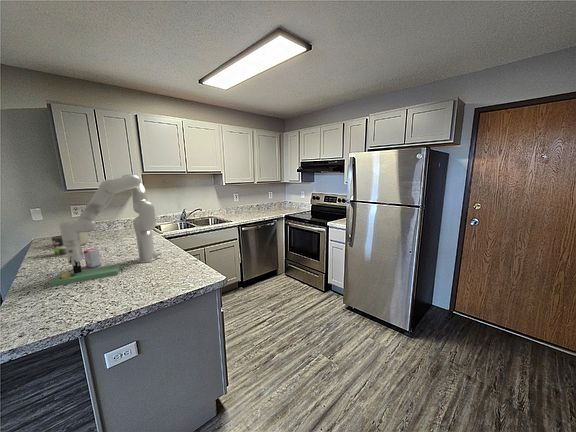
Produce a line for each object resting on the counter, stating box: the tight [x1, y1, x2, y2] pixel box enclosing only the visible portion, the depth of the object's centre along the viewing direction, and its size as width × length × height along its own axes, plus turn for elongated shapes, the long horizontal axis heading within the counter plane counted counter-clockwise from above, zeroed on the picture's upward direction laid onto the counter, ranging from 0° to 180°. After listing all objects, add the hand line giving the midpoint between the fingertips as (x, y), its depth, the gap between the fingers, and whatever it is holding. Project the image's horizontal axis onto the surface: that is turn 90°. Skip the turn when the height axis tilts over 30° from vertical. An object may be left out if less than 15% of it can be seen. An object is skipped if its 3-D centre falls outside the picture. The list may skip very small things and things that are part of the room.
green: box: [49, 263, 121, 287], centre depth 141 cm, size 30×12×2 cm, turn 119°
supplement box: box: [83, 248, 102, 269], centre depth 156 cm, size 6×6×12 cm
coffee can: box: [50, 235, 67, 258], centre depth 180 cm, size 10×10×14 cm
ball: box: [61, 272, 71, 279], centre depth 135 cm, size 4×4×4 cm
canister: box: [79, 232, 89, 246], centre depth 205 cm, size 18×18×21 cm
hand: (77, 272), depth 138 cm, fingers closed
